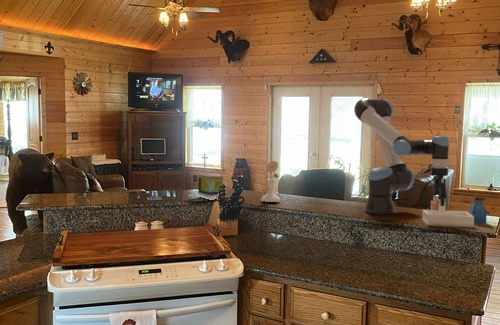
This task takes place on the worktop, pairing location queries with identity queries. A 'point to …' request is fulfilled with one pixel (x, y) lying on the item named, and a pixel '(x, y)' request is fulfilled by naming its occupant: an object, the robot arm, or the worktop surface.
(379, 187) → the robot arm
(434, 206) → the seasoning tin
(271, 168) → the flower in vase
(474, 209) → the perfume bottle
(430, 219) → the tray
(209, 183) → the tea box
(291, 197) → the worktop surface
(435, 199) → the mixing ball
